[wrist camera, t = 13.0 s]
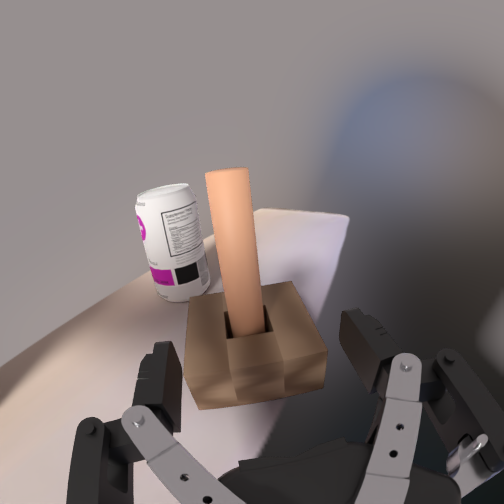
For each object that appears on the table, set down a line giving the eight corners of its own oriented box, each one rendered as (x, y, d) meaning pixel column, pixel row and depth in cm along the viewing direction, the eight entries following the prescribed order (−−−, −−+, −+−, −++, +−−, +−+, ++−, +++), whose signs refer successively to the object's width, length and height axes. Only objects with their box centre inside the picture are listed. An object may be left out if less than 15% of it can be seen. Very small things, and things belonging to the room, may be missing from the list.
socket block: (199, 410, 20) (183, 375, 18) (199, 332, 30) (189, 296, 28) (323, 388, 21) (328, 350, 19) (292, 317, 31) (291, 280, 29)
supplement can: (154, 308, 36) (124, 202, 29) (163, 279, 43) (142, 189, 37) (210, 301, 36) (189, 190, 30) (211, 272, 44) (195, 179, 37)
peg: (239, 372, 24) (204, 176, 17) (236, 351, 27) (205, 171, 19) (270, 367, 24) (250, 170, 17) (265, 347, 27) (245, 165, 20)
